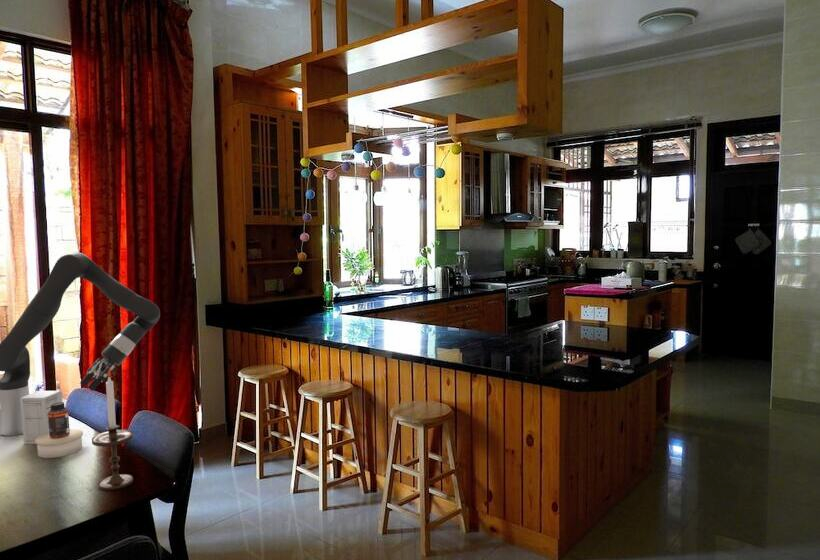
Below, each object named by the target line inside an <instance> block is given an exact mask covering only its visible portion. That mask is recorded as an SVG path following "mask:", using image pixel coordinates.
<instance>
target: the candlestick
mask: <svg viewBox="0 0 820 560" xmlns="http://www.w3.org/2000/svg"><path fill="white" fill-rule="evenodd" d="M110 371H111V369H110V367H109V371H108V379H107V380H106V381H105V389H106V390H105V391H106V392H105V393H106V403H107V404H106V405H107V417H108V418H107V421H108V422H107V423H108V426H106V427H105V428H104V429H105V430H108V431H104V432H101V433H98V434H96V435H94V436H93V437H91V444H92V445H93V446H95V447H110V449H111V457H109V459H108V460H109V463H110V464H111V466H110V470H112V475H111V476H107V477H105V478H103V479H101V480H100V481H99V482H98V489H99V490H102V491H108V492H109V491H115V490H120V489H123V488H126V487H129V486H130V485H131V484H132V483H133V482H134V477H133V475H131V474H127V473H126V474H125V473H120V474H119V468H120V467H121V466H120V465H119V461H120V459H121V457H120V456H119V455H118V454H117V451H118V450H117V446H118V445H121V444H125V443H127V442H129V441H132V439H133V438H134V436H135V433H134V431H133V430H130V429H119V428H121V425H120V424H117V423H116V422H117V421H116V419H117V418H116V407H115V406H116V404H115V388H114V381H112V379H111V375H110V373H111V372H110Z"/></svg>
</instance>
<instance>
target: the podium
mask: <svg viewBox="0 0 820 560" xmlns="http://www.w3.org/2000/svg"><path fill="white" fill-rule="evenodd" d="M69 429H70V433H69V435H67V436H65V437H61V438H51V437H50V435H49V433H46V434H43V435H41V436H39V437H37V438H36V439H35V443H36V444H35V445H36V448H37V449H36V450H37V456H38V457H39V458H44V459H51V458H52V459H53V458H54V459H55V458H61V457H65V456H69V455H72V454H74V453H77V452H79V451H81V450H82V449H83V437H82V436H84V431H83V430H81V429H77V428H76V429H75V428H69Z"/></svg>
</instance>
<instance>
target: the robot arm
mask: <svg viewBox="0 0 820 560" xmlns="http://www.w3.org/2000/svg"><path fill="white" fill-rule="evenodd" d="M78 278H82V279H83V280H85V281H88V282H90V283H91V284H93V285H95V286H96V287H97V288H98V289H99V290H100V291H101V292H102V293H103V295H104V296H105V297H107V298H108V300H110V301H111V302H112V303H113V304H114V303H115V304H116V305H117V306H118V307H121V308H122V309H124V311H125V310H126V311H129V312H131V313H133V314H135V315H136V317H135V318H134V319H133V321H131V322H129V323H128V324H127V325H125V327H124V328H123V329H122V330H121V331H120V332H119V333H118V334H117V335H116V336H115V337H114V338H113V339H112V341H110V342H109V344H108V345H107V346H106V347H105V348H104V349H103V350H102V351H101V356H102V357H103V358H102V359H101V358H100V357H99V358H97V359H96V360H95V361H94V362H93V363H92V364H91V365H90V367H89V368H88V369H87V370H86V375H85V376H84V378H82V379H81V381H80V383H79V384H81V385H82V386H83V387H86V386H87V389H89V390H90V391H93V392H94V391H95V390H96V388H98V386H100V384H101V383H103V382H105V383H106V382H107V381H108V371H109V367H110V369H111V371H110V372H111V373H110V376H111V375H113V373H114V372H115V370H116V369H117V367H116V366H120V365H122V363H123V362H124V361H125V359H127V357H128V356H129V355H130V354H131V353H132V351H134V349H135V347H136V346H137V344H139V342H140V341H141V340H142V339H143V337H144V336H145V335H146V334H147V333H148V332H149V331H150V330H151V329H153V327H154V326H155V325H156V324H157V323H158V322H159V320H160V318H161V310H160V307H159V306H158V305H157V304H156V303H154V302H153V301H151V300H149V299H147V298H145V297H143V296H141V295H139V294H137V293H136V292H135V291H134V290H131V289H130V288H129V287H127V286H125V285H124V284H122V283H121V282H119V281H118V280H117V279H115V278H113V277H112V276H111V275H109V274H108V273H107V272H106V271H105V270H103V269H102V268H101V267H100V266H99V265H98V264H96V263H95V262H94V261H93V260H92V259H91V258H89V256H88V255H86V254H84V253H81V252H70V253H65V254H63V255H61V256H60V257H59V258H58V259H57V260H56V262H55V263H54V265H53V267H52V269H51V271H50V272H49V274H48V277H47V278H46V280H45V282H44V283H43V285H42V286H41V287H40V288H39V290H38V291H37V292H36V293H35V296H34V297H33V298H32V299H31V301H30V302H29V304H28V305H27V306H26V308H25V309H24V311H23V312H22V314H21V315H20V317H19V318H18V320H17V321H16V322H15V324H14V326H13V327H12V329H10V331H9V332H8V334H7V335H6V337H4V338H3V340H2V341H1V342H0V372H3V376H2V377H1V378H0V436H5V437H6V436H7V437H10V436H12V437H13V436H18V435H24V434H23V423H22V412H21V401H20V398H21V397H24V396H27V395H29V394H30V390H29V379H30V377H31V360H30V359H31V358H30V357H31V356H30V352H29V350H28V347H27V345H29V343H31V341H32V340H34V339H35V338H36V337H37V336H38V335H40V333H41V332H43V331H44V330H45V329H46V328H47V327H48V325H50V324H51V322H52V320H54V318H55V316H56V315H57V313H58V312H59V310H60V308H61V305H62V300H63V297H64V295H65V292H66V291H67V290H68V288H69V287H70V286H71V285H72V283H74V281H75V280H76V279H78ZM115 365H116V366H115ZM93 378H94V379H93Z"/></svg>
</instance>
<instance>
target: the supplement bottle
mask: <svg viewBox="0 0 820 560" xmlns="http://www.w3.org/2000/svg"><path fill="white" fill-rule="evenodd" d="M69 417H70V416H69V409H68V408H67V407H65V402H64V401H63V402H56V403H52V404H51V409H50V411H49V412H48V423H49V435H50V437H51V438H61V437H65V436H67V435H69V433H70V429H71V428H70V422H69V421H70V420H69Z"/></svg>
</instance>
